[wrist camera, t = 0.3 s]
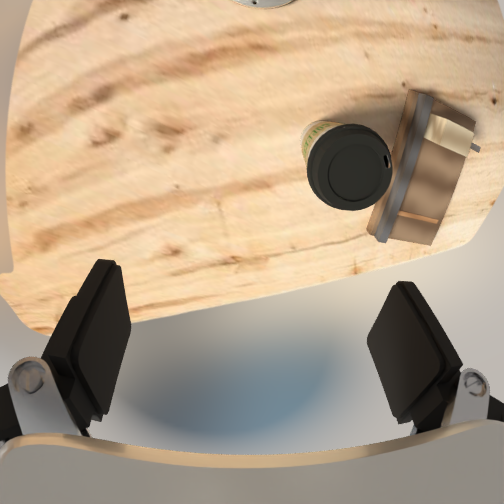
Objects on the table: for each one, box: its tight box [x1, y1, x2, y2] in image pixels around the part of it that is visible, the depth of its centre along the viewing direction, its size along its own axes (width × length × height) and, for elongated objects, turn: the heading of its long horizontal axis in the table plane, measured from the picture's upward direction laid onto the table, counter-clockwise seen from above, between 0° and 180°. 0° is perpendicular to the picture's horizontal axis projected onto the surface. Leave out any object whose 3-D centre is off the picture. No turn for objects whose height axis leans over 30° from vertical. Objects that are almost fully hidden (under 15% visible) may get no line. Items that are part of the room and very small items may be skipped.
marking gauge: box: [424, 113, 481, 157], centre depth 36 cm, size 4×10×6 cm, turn 80°
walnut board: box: [366, 90, 476, 246], centre depth 43 cm, size 25×14×4 cm, turn 170°
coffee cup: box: [300, 121, 393, 211], centre depth 35 cm, size 10×10×15 cm
